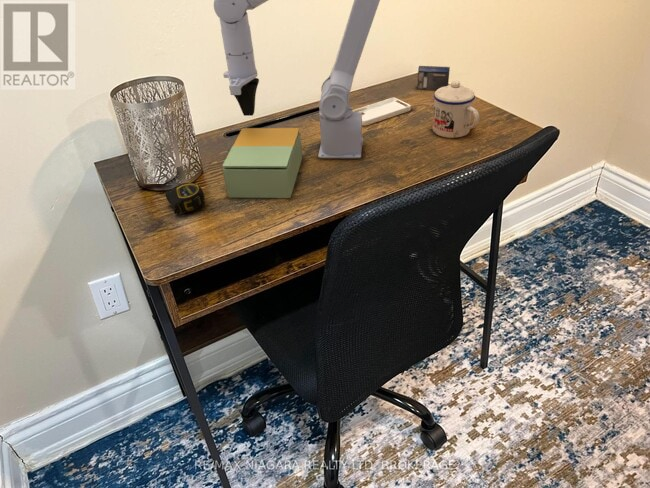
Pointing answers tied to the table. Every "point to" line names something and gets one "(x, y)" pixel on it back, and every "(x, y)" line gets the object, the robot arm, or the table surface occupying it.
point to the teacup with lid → (454, 111)
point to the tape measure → (185, 197)
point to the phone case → (382, 110)
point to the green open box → (262, 170)
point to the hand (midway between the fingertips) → (249, 114)
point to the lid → (267, 137)
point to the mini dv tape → (432, 77)
